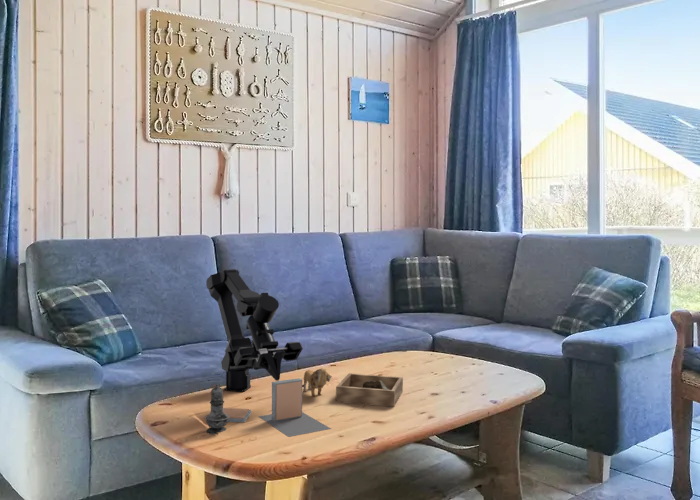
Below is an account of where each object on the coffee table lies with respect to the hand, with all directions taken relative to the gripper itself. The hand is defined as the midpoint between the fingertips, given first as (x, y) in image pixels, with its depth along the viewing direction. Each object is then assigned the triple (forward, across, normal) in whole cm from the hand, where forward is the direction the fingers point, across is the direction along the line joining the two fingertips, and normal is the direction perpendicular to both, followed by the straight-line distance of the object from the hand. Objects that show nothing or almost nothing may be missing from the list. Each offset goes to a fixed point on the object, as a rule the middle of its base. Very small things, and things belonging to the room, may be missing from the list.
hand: (277, 379), depth 180 cm
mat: (+13, 0, 0) cm, 13 cm away
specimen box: (+6, -31, -8) cm, 33 cm away
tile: (+10, 0, -2) cm, 11 cm away
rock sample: (+6, -33, -8) cm, 35 cm away
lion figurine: (-2, -18, -15) cm, 23 cm away
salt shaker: (+10, +19, -4) cm, 22 cm away
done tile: (+5, +13, -9) cm, 16 cm away
